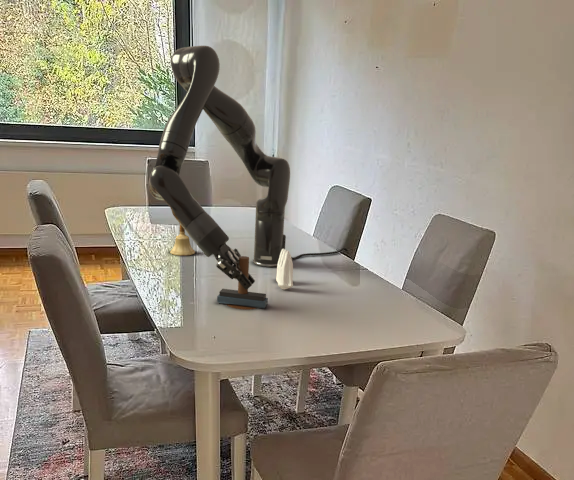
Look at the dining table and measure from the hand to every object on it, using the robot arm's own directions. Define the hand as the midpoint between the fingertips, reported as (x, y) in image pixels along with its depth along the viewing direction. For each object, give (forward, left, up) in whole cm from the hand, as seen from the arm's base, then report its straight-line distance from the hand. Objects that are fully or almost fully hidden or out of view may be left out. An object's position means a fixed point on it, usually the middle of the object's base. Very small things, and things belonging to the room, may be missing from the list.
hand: (250, 285), depth 166 cm
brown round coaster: (+1, -2, -6) cm, 6 cm away
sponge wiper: (+1, -1, -5) cm, 6 cm away
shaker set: (-18, -11, -6) cm, 22 cm away
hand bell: (-7, -56, -6) cm, 57 cm away
